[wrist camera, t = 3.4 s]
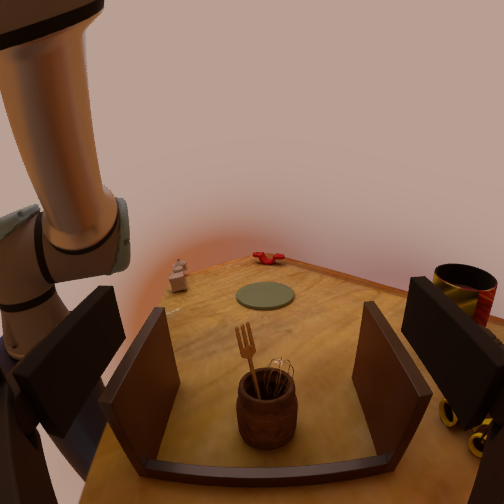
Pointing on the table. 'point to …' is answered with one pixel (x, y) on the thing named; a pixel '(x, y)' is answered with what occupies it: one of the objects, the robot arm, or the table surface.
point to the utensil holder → (265, 401)
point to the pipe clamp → (267, 260)
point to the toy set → (178, 276)
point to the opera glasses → (473, 442)
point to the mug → (467, 289)
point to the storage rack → (383, 435)
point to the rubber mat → (265, 295)
